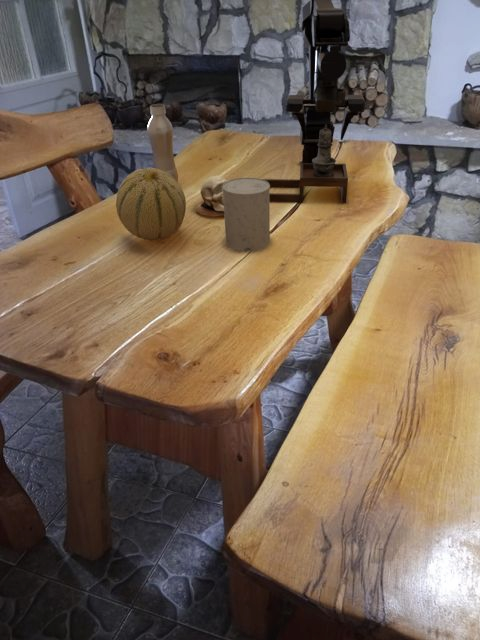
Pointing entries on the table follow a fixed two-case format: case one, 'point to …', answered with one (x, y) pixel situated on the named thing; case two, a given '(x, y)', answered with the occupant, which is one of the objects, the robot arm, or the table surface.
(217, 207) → the skull
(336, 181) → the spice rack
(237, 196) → the grey stone cylinder
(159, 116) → the plastic bottle
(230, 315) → the table surface
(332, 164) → the grey rounded piece
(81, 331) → the table surface
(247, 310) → the table surface
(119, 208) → the cantaloupe
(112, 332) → the table surface
